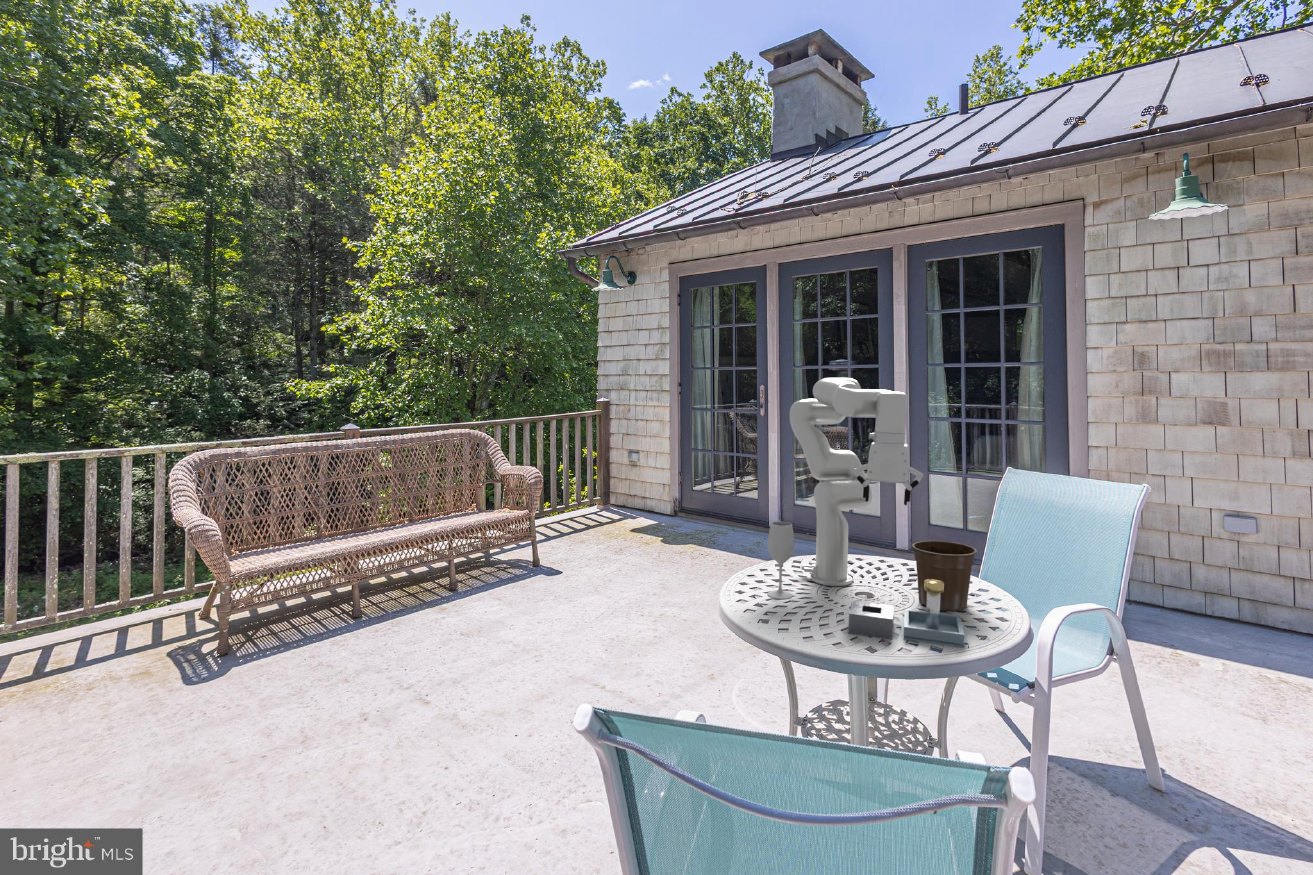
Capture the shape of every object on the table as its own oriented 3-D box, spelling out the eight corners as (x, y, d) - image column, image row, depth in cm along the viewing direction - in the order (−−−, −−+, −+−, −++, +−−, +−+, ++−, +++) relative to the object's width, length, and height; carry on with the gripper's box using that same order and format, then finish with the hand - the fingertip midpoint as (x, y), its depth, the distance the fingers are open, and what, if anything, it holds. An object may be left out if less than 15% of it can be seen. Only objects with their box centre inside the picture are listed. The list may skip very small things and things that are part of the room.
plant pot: (897, 598, 178) (899, 542, 177) (940, 591, 184) (942, 537, 183) (942, 617, 163) (945, 557, 162) (987, 609, 169) (990, 551, 168)
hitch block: (848, 633, 153) (849, 613, 152) (852, 619, 162) (852, 600, 162) (892, 639, 149) (892, 619, 149) (893, 625, 158) (893, 605, 158)
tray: (903, 638, 149) (903, 626, 149) (904, 620, 161) (904, 609, 161) (963, 647, 144) (964, 635, 144) (959, 627, 156) (960, 616, 156)
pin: (922, 631, 152) (924, 583, 151) (922, 625, 156) (924, 578, 155) (942, 634, 150) (944, 585, 149) (941, 628, 154) (943, 580, 153)
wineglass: (778, 601, 176) (779, 527, 174) (761, 593, 183) (762, 522, 181) (799, 596, 179) (800, 524, 178) (782, 589, 186) (783, 519, 184)
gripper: (854, 438, 164) (850, 502, 166) (925, 442, 158) (921, 508, 160) (856, 435, 171) (853, 496, 173) (925, 439, 164) (920, 502, 167)
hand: (886, 502), depth 166 cm, fingers open, 9 cm apart
